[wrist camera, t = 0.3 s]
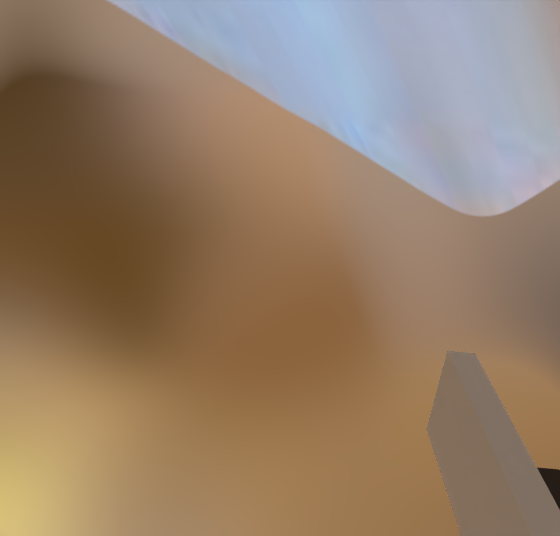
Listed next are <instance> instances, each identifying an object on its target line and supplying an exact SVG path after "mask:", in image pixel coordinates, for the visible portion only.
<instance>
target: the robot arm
mask: <svg viewBox="0 0 560 536" xmlns="http://www.w3.org/2000/svg"><path fill="white" fill-rule="evenodd" d="M427 432H428V435H429V438H430V441H431V444H432V447H433V451H434V454H435V457H436V460H437V463H438V466H439V469H440V472H441V475H442V479H443V482H444V485H445V488H446V491H447V494H448V497H449V500H450V503H451V506H452V509H453V513H454V516H455V519H456V522H457V525H458V528H459V531H460V534H461V536H560V470H557V469H546V468H537V467H536V465H535V463H534V462H533V460H532V458H531V456H530V454H529V452H528V450H527V449H526V447H525V445H524V443H523V441H522V439H521V437H520V436H519V434H518V432H517V430H516V428H515V426H514V424H513V423H512V421H511V419H510V417H509V415H508V414H507V412H506V410H505V408H504V406H503V404H502V402H501V400H500V399H499V397H498V395H497V393H496V391H495V389H494V387H493V386H492V384H491V382H490V380H489V378H488V376H487V375H486V373H485V371H484V369H483V367H482V366H481V364H480V362H479V360H478V358H477V356H476V354H474V353H464V352H454V351H447V355H446V358H445V362H444V366H443V369H442V373H441V377H440V381H439V384H438V388H437V392H436V396H435V399H434V403H433V407H432V411H431V414H430V418H429V422H428V426H427Z"/></svg>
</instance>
